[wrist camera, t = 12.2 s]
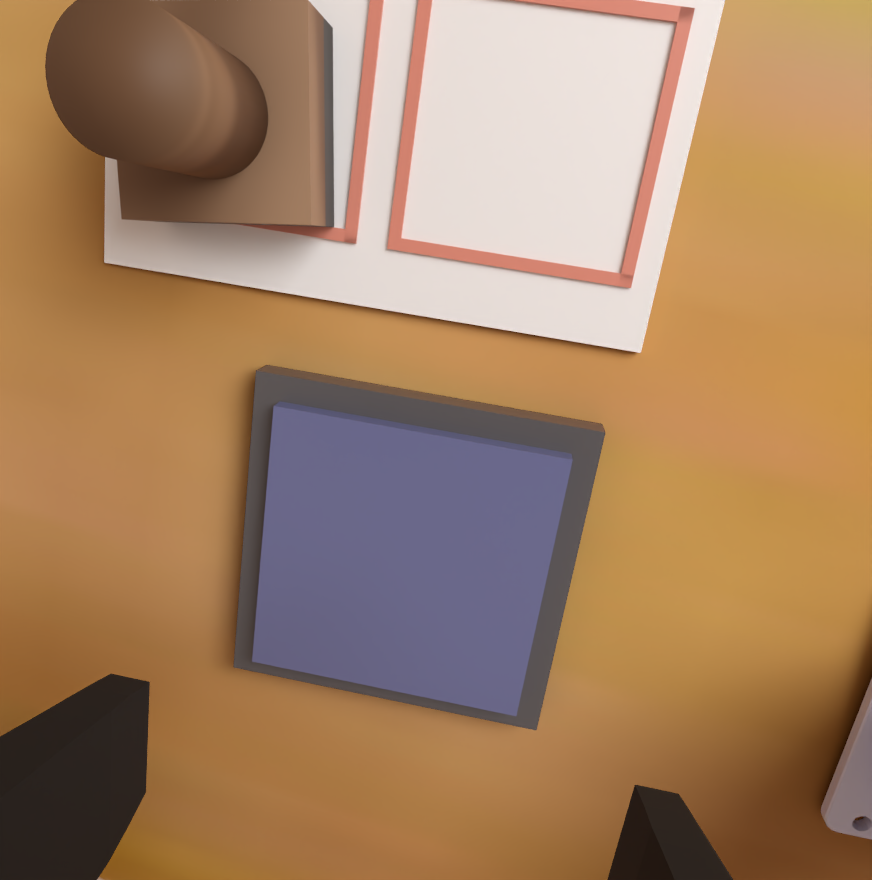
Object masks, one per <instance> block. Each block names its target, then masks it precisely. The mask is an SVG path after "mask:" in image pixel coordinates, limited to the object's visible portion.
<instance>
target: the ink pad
mask: <svg viewBox="0 0 872 880" xmlns="http://www.w3.org/2000/svg"><path fill="white" fill-rule="evenodd" d="M604 436H605V430H604V428H603V425H602V424H599V423H594V422H588V421H582V420H577V419H571V418H565V417H560V416H554V415H548V414H543V413H537V412H531V411H526V410H520V409H514V408H509V407H503V406H497V405H492V404H486V403H480V402H475V401H469V400H463V399H458V398H452V397H446V396H440V395H435V394H429V393H423V392H418V391H412V390H406V389H401V388H395V387H389V386H384V385H378V384H372V383H367V382H361V381H355V380H350V379H344V378H338V377H333V376H327V375H321V374H316V373H310V372H304V371H299V370H293V369H287V368H282V367H276V366H270V365H266V366H264V367H262V368H260V369H258V370H256V379H255V392H254V405H253V418H252V431H251V445H250V458H249V471H248V484H247V497H246V511H245V524H244V537H243V550H242V563H241V576H240V590H239V603H238V616H237V629H236V642H235V656H234V667H235V668H240V669H244V670H249V671H254V672H259V673H264V674H268V675H273V676H278V677H283V678H288V679H292V680H297V681H302V682H307V683H312V684H316V685H321V686H326V687H331V688H336V689H340V690H345V691H350V692H355V693H360V694H365V695H369V696H374V697H379V698H384V699H389V700H393V701H398V702H403V703H408V704H413V705H417V706H422V707H427V708H432V709H437V710H441V711H446V712H451V713H456V714H461V715H465V716H470V717H475V718H480V719H485V720H489V721H494V722H499V723H504V724H509V725H513V726H518V727H523V728H528V729H533V730H537V725H538V721H539V717H540V712H541V708H542V704H543V699H544V695H545V691H546V686H547V682H548V678H549V673H550V669H551V665H552V660H553V656H554V652H555V648H556V643H557V639H558V635H559V630H560V626H561V622H562V617H563V613H564V609H565V604H566V600H567V596H568V591H569V587H570V583H571V578H572V574H573V570H574V566H575V561H576V557H577V553H578V548H579V544H580V540H581V535H582V531H583V527H584V522H585V518H586V514H587V509H588V505H589V501H590V497H591V492H592V488H593V484H594V479H595V475H596V471H597V466H598V462H599V458H600V453H601V449H602V445H603V440H604Z"/></svg>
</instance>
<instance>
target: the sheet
mask: <svg viewBox="0 0 872 880" xmlns="http://www.w3.org/2000/svg"><path fill="white" fill-rule="evenodd" d="M309 1H310V2H311V4H312V5H313V6H314V7H315V8H316V9H317V10H318V12H319V13H320V14H321V15H322V16H323V17H324V18H325V20H326V21H327V22H328V23H329V24H330V25H331V26H332V28H333V131H334V227H312V226H278V225H245V224H211V223H178V222H155V221H140V220H125V219H122V218H121V206H120V194H119V182H118V170H117V160H115V159H111V158H107V157H105V230H104V263H110V264H116V265H122V266H128V267H134V268H140V269H145V270H151V271H157V272H163V273H169V274H175V275H181V276H187V277H193V278H199V279H205V280H211V281H217V282H223V283H229V284H235V285H240V286H246V287H252V288H258V289H264V290H270V291H276V292H282V293H288V294H294V295H300V296H306V297H312V298H318V299H324V300H330V301H336V302H341V303H347V304H353V305H359V306H365V307H371V308H377V309H383V310H389V311H395V312H401V313H407V314H413V315H419V316H425V317H431V318H436V319H442V320H448V321H454V322H460V323H466V324H472V325H478V326H484V327H490V328H496V329H502V330H508V331H514V332H520V333H526V334H532V335H537V336H543V337H549V338H555V339H561V340H567V341H573V342H579V343H585V344H591V345H597V346H603V347H609V348H615V349H621V350H627V351H632V352H638V353H641V350H642V345H643V341H644V337H645V333H646V329H647V325H648V320H649V316H650V312H651V308H652V304H653V299H654V295H655V291H656V287H657V283H658V279H659V274H660V270H661V266H662V262H663V258H664V253H665V249H666V245H667V241H668V237H669V232H670V228H671V224H672V220H673V216H674V212H675V207H676V203H677V199H678V195H679V191H680V186H681V182H682V178H683V174H684V170H685V166H686V161H687V157H688V153H689V149H690V145H691V140H692V136H693V132H694V128H695V124H696V120H697V115H698V111H699V107H700V103H701V99H702V94H703V90H704V86H705V82H706V78H707V73H708V69H709V65H710V61H711V57H712V53H713V48H714V44H715V40H716V36H717V32H718V27H719V23H720V19H721V15H722V11H723V7H724V2H725V0H309Z"/></svg>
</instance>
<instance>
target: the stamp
mask: <svg viewBox="0 0 872 880" xmlns="http://www.w3.org/2000/svg"><path fill="white" fill-rule="evenodd" d="M45 68H46V80H47V87H48V91H49V94H50V98H51V101H52V103H53V106H54V108H55V110H56V112H57V114H58V116H59V118H60V120H61V121H62V123H63V124H64V126H65V127H66V128H67V130H68V131H69V132H70V133H71V134H72V135H73V136H74V137H75V138H76V139H77V140H78V141H79V142H80V143H81V144H83V145H84V146H85V147H87V148H88V149H90V150H91V151H93V152H95V153H97V154H99V155H102V156H104V157H107V158H111V159H115V160H117V170H118V182H119V194H120V206H121V218H122V219H125V220H140V221H155V222H178V223H211V224H245V225H278V226H312V227H334V131H333V28H332V26H331V25H330V24H329V23H328V22H327V21H326V20H325V18H324V17H323V16H322V15H321V14H320V13H319V12H318V10H317V9H316V8H315V7H314V6H313V5H312V4H311V2H310V1H309V0H77V1H75V2H74V3H73V4H72V5H71V6H69V7H68V8H67V9H66V11H65V12H64V13H63V14H62V15H61V17H60V18H59V20H58V21H57V23H56V25H55V27H54V29H53V31H52V33H51V36H50V39H49V43H48V47H47V53H46V64H45Z"/></svg>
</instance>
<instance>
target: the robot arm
mask: <svg viewBox="0 0 872 880" xmlns="http://www.w3.org/2000/svg"><path fill="white" fill-rule="evenodd" d="M149 684H150V682H147V681H143V680H138V679H133V678H128V677H124V676H119V675H114V674H110V675H108V676H106V677H104V678H102V679H100V680H98V681H97V682H95V683H93V684H91V685H89V686H88V687H86V688H84V689H82V690H81V691H79V692H77V693H75V694H74V695H72V696H70V697H69V698H67V699H65V700H63V701H62V702H60V703H58V704H56V705H55V706H53V707H51V708H50V709H48V710H46V711H44V712H43V713H41V714H39V715H38V716H36V717H34V718H32V719H31V720H29V721H27V722H25V723H24V724H22V725H20V726H18V727H16V728H15V729H13V730H11V731H9V732H8V733H6V734H4V735H2V736H1V737H0V880H97V879H98V877H99V876H100V874H101V873H102V871H103V870H104V868H105V867H106V865H107V863H108V862H109V860H110V859H111V857H112V855H113V853H114V851H115V849H116V848H117V846H118V844H119V842H120V840H121V838H122V837H123V835H124V833H125V831H126V829H127V827H128V825H129V824H130V822H131V820H132V818H133V816H134V814H135V812H136V810H137V808H138V806H139V804H140V802H141V800H142V798H143V797H144V795H145V793H146V770H147V741H148V713H149ZM821 814H822V817H823V819H824V821H825V823H826V825H827V826H828V827H829V828H830V829H831V830H833V831H836V832H838V833H843V834H848V835H852V836H857V837H862V838H867V839H871V840H872V679H871V681H870V684H869V686H868V689H867V691H866V694H865V697H864V699H863V702H862V704H861V707H860V709H859V712H858V714H857V717H856V720H855V722H854V725H853V727H852V730H851V732H850V735H849V737H848V740H847V743H846V745H845V748H844V750H843V753H842V755H841V758H840V760H839V763H838V766H837V768H836V771H835V773H834V776H833V778H832V781H831V783H830V786H829V789H828V791H827V794H826V796H825V799H824V801H823V804H822V806H821ZM860 816H864V817H863V818H862V819H860V820H854V819H855V818H857V817H860ZM608 880H733V879H732V877H731V875H730V874H729V872H728V871H727V869H726V868H725V866H724V865H723V863H722V861H721V860H720V858H719V857H718V855H717V854H716V852H715V850H714V849H713V847H712V846H711V844H710V842H709V841H708V839H707V838H706V836H705V834H704V833H703V831H702V830H701V828H700V827H699V825H698V823H697V822H696V820H695V819H694V817H693V815H692V814H691V812H690V811H689V809H688V808H687V806H686V805H685V803H684V801H683V800H682V798H681V797H680V795H679V794H677V793H672V792H667V791H662V790H658V789H653V788H648V787H644V786H639V785H635V787H634V790H633V794H632V797H631V800H630V804H629V807H628V811H627V814H626V818H625V821H624V825H623V828H622V832H621V835H620V838H619V842H618V845H617V849H616V852H615V856H614V859H613V863H612V866H611V869H610V873H609V876H608Z"/></svg>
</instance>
